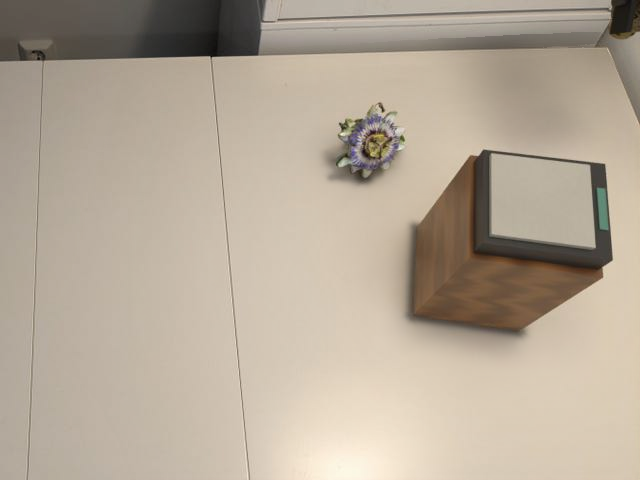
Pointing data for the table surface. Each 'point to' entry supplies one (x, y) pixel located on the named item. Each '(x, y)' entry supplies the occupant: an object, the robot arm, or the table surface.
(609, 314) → the table surface
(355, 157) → the passion flower
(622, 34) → the sea sponge
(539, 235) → the kitchen scale
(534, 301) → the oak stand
